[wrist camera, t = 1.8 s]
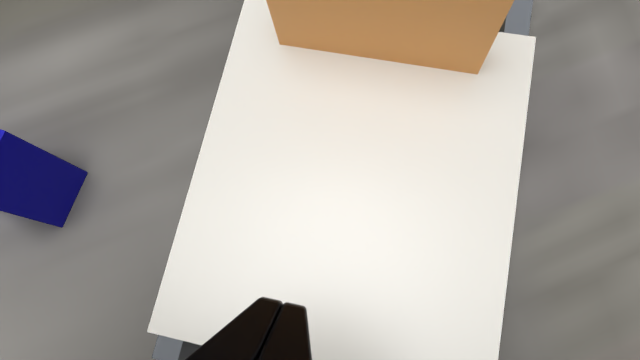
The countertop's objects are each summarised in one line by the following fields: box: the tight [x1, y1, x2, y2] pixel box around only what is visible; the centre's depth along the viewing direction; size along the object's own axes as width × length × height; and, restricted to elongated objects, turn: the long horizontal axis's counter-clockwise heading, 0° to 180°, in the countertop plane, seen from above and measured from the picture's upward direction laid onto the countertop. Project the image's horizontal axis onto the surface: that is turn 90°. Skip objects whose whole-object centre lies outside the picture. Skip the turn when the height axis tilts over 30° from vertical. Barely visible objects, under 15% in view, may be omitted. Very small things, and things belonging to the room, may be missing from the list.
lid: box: [147, 0, 536, 360], centre depth 14 cm, size 14×12×10 cm
